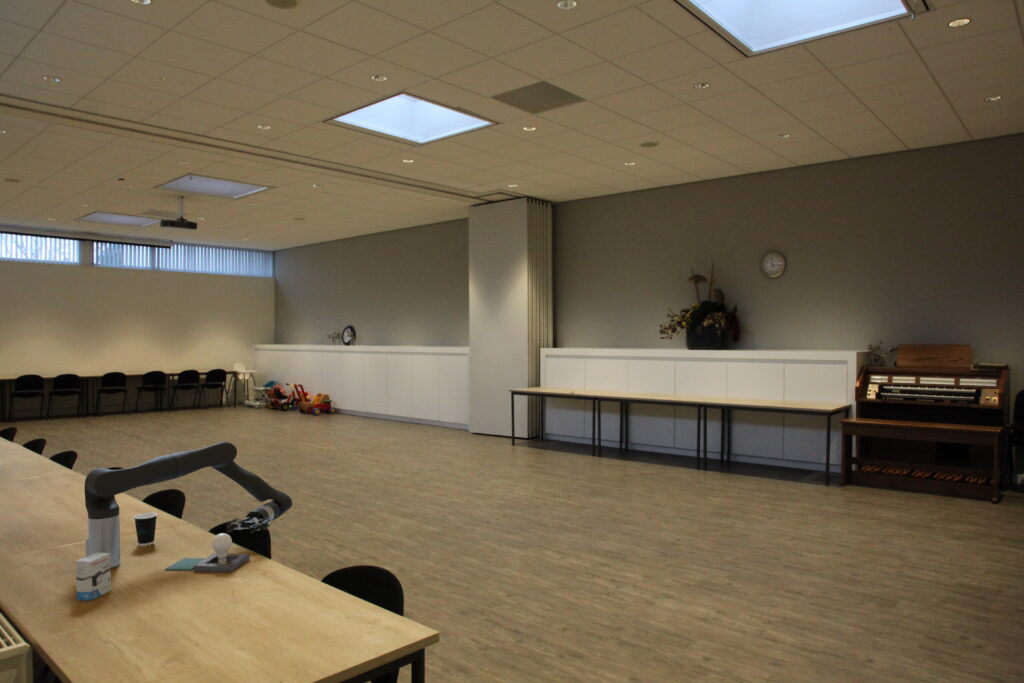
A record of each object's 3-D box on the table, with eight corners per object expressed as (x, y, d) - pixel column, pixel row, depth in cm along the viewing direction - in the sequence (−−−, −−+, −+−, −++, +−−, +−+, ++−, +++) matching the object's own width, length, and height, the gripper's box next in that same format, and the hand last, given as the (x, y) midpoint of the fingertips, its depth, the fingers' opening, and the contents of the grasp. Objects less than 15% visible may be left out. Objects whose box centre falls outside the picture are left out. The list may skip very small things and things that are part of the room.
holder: (193, 571, 227) (193, 565, 227) (214, 558, 240) (214, 553, 240) (230, 572, 226) (230, 566, 226) (249, 559, 239) (249, 554, 239)
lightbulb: (215, 562, 236) (215, 531, 236) (234, 562, 237) (234, 530, 236) (209, 569, 230) (208, 536, 230) (228, 568, 230) (228, 535, 230)
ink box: (89, 601, 203) (89, 561, 203) (75, 600, 204) (75, 560, 204) (112, 590, 211) (111, 552, 211) (98, 589, 212) (97, 551, 212)
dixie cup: (155, 539, 264) (154, 511, 264) (160, 544, 258) (159, 515, 257) (132, 544, 259) (131, 515, 259) (136, 549, 253) (136, 519, 252)
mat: (165, 570, 229) (165, 568, 229) (184, 559, 240) (184, 557, 240) (190, 570, 228) (190, 569, 228) (208, 559, 239) (208, 558, 239)
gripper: (242, 507, 262) (220, 519, 245) (277, 507, 260) (258, 519, 244) (242, 527, 262) (220, 540, 246) (278, 527, 260) (258, 540, 244)
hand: (239, 530), depth 245 cm, fingers open, 8 cm apart
